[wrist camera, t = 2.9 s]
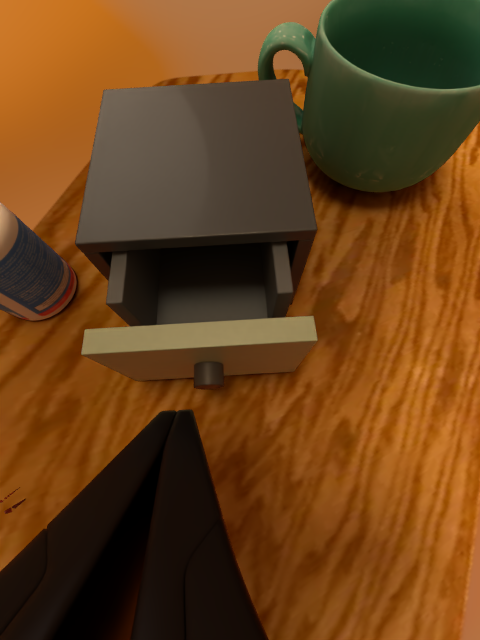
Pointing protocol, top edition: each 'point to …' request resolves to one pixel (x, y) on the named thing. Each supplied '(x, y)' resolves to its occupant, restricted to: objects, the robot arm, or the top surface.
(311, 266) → the top surface
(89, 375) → the top surface
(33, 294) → the pill bottle
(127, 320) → the drawer
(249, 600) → the robot arm
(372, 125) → the mug
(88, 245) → the cabinet
